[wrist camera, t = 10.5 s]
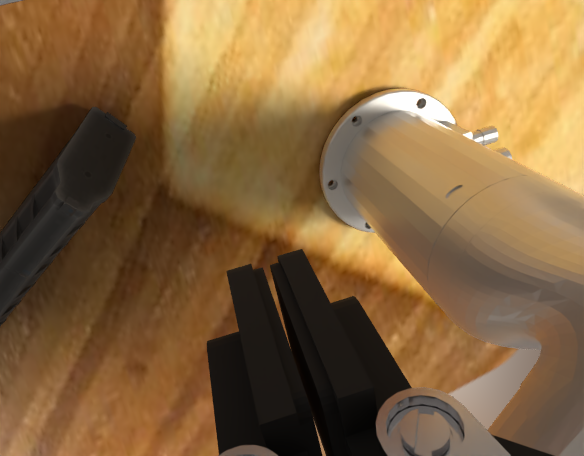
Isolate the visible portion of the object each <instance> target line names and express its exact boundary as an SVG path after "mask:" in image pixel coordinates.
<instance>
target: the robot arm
mask: <svg viewBox="0 0 584 456" xmlns="http://www.w3.org/2000/svg"><path fill="white" fill-rule="evenodd" d="M418 100H419V101H418ZM417 101H418V103H417ZM353 117H356V118H355V120H354V121H352V119H353ZM497 140H498V132H497V129H496V128H495V127H494V126H489V127H485V128H482V129H478V130H477V131H474V132H469V131H467V130H465V129H463V128H461V127H459V126H457V123H456V121H455V119H454V117H453V116H452V114H451V113H450V111H449V110H448V109H447V108H446V107H445V106H444V105H443V104H442V103H441V102H440V101H439V100H437V99H435V98H433V97H432V96H430V95H428V94H425V93H423V92H420V91H417V90H411V89H405V88H402V89H389V90H385V91H381V92H378V93H375V94H373V95H371V96H369V97H367V98H364V99H362V100H361V101H360V102H358V103H357V104H356V105H354V106H353V107H351V108H350V109H349V110H348V111H347V112H346V113H345V114H344V115H343V116H342V117H341V118H340V119H339V121H338V122H337V123H336V125H335V126H334V128H333V129H332V131H331V132H330V134H329V136H328V139H327V141H326V143H325V145H324V148H323V152H322V156H321V159H320V172H319V175H320V183H321V188H322V191H323V194H324V197H325V199H326V201H327V203H328V204H329V206H330V207H331V209H332V210H333V211H334V213H335V214H336V215H337V216H338V217H339V218H340V219H341V220H342V221H344V222H345V223H346V224H347V225H349V226H351V227H353V228H355V229H358V230H361V231H365V232H370V233H376V234H377V235H378V236H379V237H380V238H381V240H382V241H383V242H384V243H385V244H386V245H387V247H388V248H389V249H390V250H391V251H392V252H393V254H394V255H395V256H396V257H397V258H398V259H399V261H400V262H401V263H402V264H403V265H404V266H405V268H406V269H407V270H408V271H409V272H410V273H411V274H412V276H413V277H414V278H415V279H416V280H417V281H418V283H419V284H420V285H421V286H422V287H423V288H424V290H425V291H426V292H427V293H428V294H429V295H430V297H431V298H432V299H433V300H434V301H435V302H436V303H437V304H438V305H439V307H440V308H441V309H442V310H443V311H444V312H445V313H446V315H447V316H448V317H449V318H450V319H451V320H452V321H453V322H454V323H455V324H456V325H457V326H459V327H460V328H461V329H463V330H464V331H465V332H467V333H468V334H470V335H472V336H474V337H476V338H478V339H480V340H482V341H485V342H488V343H491V344H495V345H500V346H504V347H511V348H519V349H531V350H541V353H540V356H539V358H538V360H537V362H536V364H535V365H534V367H533V368H532V370H531V371H530V373H529V374H528V375H527V377H526V378H525V380H524V381H523V382H522V383H521V386H520V389H519V390H518V391H517V393H516V394H515V395H514V397H513V398H512V399H511V400H510V402H509V403H508V404H507V405H506V407H505V408H504V409H503V411H502V412H501V413H500V414H499V416H498V417H497V418H496V420H495V421H494V422H493V424H492V425H491V426H490V427H489V429H488V430H486V429H485V428H484V426H483V425H482V424H481V423H480V422H479V421H478V420H477V419H476V418H475V417H474V416H473V415H472V414H471V413H470V412H469V411H468V410H467V408H466V407H465V406H464V405H462V404H461V403H460V402H459V401H457V400H456V399H455V398H454V397H452V396H450V395H448V394H446V393H444V392H442V391H439V390H435V389H430V388H411V386H410V384H409V383H408V381H407V379H406V378H405V376H404V375H403V373H402V371H401V370H400V368H399V366H398V365H397V363H396V361H395V360H394V358H393V357H392V355H391V353H390V352H389V350H388V348H387V347H386V345H385V344H384V342H383V340H382V339H381V337H380V335H379V334H378V332H377V330H376V329H375V327H374V326H373V324H372V322H371V321H370V319H369V317H368V316H367V314H366V312H365V311H364V309H363V308H362V306H361V304H360V303H359V301H358V300H357V299H356V297H354V296H352V297H349V298H346V299H343V300H339V301H336V302H333V303H330V302H329V300H328V298H327V296H326V294H325V292H324V290H323V288H322V286H321V284H320V282H319V280H318V279H317V277H316V275H315V273H314V271H313V269H312V267H311V265H310V263H309V261H308V259H307V257H306V255H305V253H304V252H303V250H302V249H300V250H297V251H293V252H290V253H286V254H283V255H279V256H278V262H279V263H276V264H272V265H270V268H271V272H272V276H273V280H274V284H275V288H276V292H277V296H278V300H279V304H280V308H281V312H282V316H283V320H284V324H285V328H286V331H287V335H288V339H289V343H290V346H289V343H288V340H287V337H286V334H285V331H284V328H283V326H282V323H281V320H280V317H279V314H278V311H277V308H276V305H275V302H274V299H273V297H272V294H271V291H270V288H269V285H268V282H267V279H266V276H265V273H264V270H263V268H259V269H255V270H253V269H252V266H251V264H249V265H245V266H242V267H238V268H235V269H231V270H228V271H227V276H228V281H229V285H230V290H231V295H232V299H233V304H234V309H235V313H236V318H237V323H238V328H239V332H235V333H232V334H229V335H226V336H223V337H219V338H216V339H213V340H210V341H207V353H208V362H209V370H210V379H211V388H212V397H213V405H214V414H215V423H216V432H217V440H218V449H219V456H322V452H321V448H320V444H319V440H318V436H317V432H316V428H315V424H316V427H317V430H318V433H319V436H320V439H321V442H322V445H323V448H324V451H325V454H326V456H584V195H582V194H580V193H578V192H576V191H574V190H572V189H570V188H568V187H566V186H564V185H562V184H560V183H558V182H556V181H554V180H552V179H550V178H548V177H546V176H544V175H542V174H540V173H538V172H536V171H534V170H532V169H530V168H528V167H526V166H524V165H522V164H520V163H518V162H516V161H514V160H512V156H511V154H510V152H509V150H507V149H506V148H503V147H502V148H498V149H495V150H492V149H490V148H488V147H486V146H484V145H487V144H491V143H494V142H496V141H497ZM331 180H332V182H331V183H329V181H331ZM328 183H329V184H328ZM290 347H291V349H290ZM291 351H292V352H291ZM314 421H315V423H314Z"/></svg>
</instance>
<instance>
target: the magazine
mask: <svg viewBox="0 0 584 456" xmlns="http://www.w3.org/2000/svg"><path fill="white" fill-rule="evenodd" d="M126 127H127V126H126V125H125V124H123V123H122V122H121V121H119V120H118V119H116V118H115V117H114V116H112V115H111V114H109V113H108V112H107V113H106V114H105V113H104V112H103V111H101V110H100V109H98V108H97V107H92V109H91V110H90V111H89V113H88V114H87V116H86V117H85V119H84V120H83V122H82V123H81V125H80V126H79V128H78V129H77V131H76V132H75V134H74V135H73V137H72V138H71V139H70V141H69V142H68V143H67V145H66V146H65V147H64V149H63V150H62V151H61V153H60V154H59V155H58V156H57V158H56V159H55V160H54V162H53V163H52V164H51V166H50V167H49V168H48V170H47V171H46V172H45V174H44V175H43V176H42V178H41V179H40V180H39V182H38V183H37V184H36V186H35V187H34V188H33V190H32V191H31V192H30V194H29V195H28V196H27V198H26V199H25V200H24V202H23V203H22V204H21V206H20V207H19V208H18V210H17V211H16V212H15V214H14V215H13V216H12V218H11V219H10V220H9V222H8V223H7V224H6V226H5V227H4V228H3V230H2V231H1V232H0V326H1V325H2V324H3V323H4V322H5V320H6V318H7V317H8V316H9V315H10V313H11V312H12V311H13V310H14V308H15V307H16V306H17V305H18V304H19V303H20V302H21V299H22V298H23V297H24V296H25V294H26V293H27V292H28V291H29V289H30V288H31V287H32V286H33V285H34V284H35V283H36V281H37V279H38V278H39V277H40V276H41V274H42V273H43V272H44V271H45V270H46V268H47V267H48V266H49V265H50V264H51V263H52V262H53V260H54V258H55V257H56V256H57V255H58V254H59V252H60V251H61V250H62V249H63V248H64V247H65V246H66V245H67V244H68V242H69V240H70V239H71V238H72V237H73V236H74V234H75V233H76V232H77V231H78V230H79V229H80V227H82V226H83V225H84V223H85V221H86V220H87V219H88V218H89V217H90V216H91V215H92V213H93V212H94V211H95V210H96V209H97V208H98V206H99V205H100V204H101V203H103V202H105V201H106V200H107V199H108V198H109V197H110V195H111V194H112V193H113V190H114V188H115V186H116V183H117V181H118V179H119V176H120V174H121V172H122V170H123V167H124V165H125V163H126V160H127V158H128V156H129V153H130V151H131V149H132V147H133V144H134V142H135V140H136V136H135V134H134V133H132V132H131V131H129V130H128V129H127V128H126Z"/></svg>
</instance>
